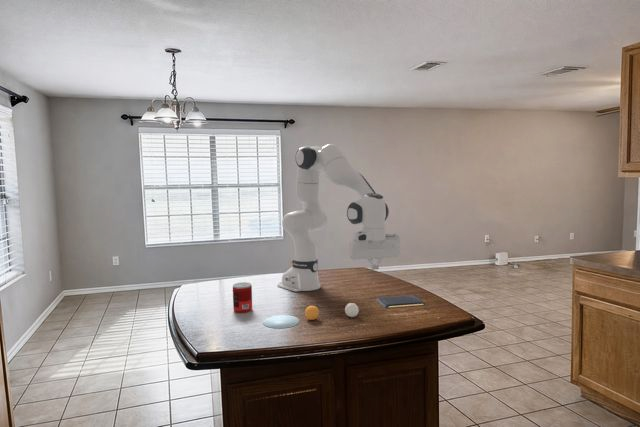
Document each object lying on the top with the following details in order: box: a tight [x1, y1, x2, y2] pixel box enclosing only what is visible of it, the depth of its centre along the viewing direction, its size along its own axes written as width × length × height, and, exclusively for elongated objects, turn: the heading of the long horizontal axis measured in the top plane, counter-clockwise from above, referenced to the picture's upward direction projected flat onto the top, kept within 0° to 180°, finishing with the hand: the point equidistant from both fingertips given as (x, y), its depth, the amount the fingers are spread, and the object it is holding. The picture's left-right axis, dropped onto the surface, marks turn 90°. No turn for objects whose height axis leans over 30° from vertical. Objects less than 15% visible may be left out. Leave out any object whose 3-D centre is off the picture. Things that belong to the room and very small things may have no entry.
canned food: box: [232, 281, 253, 314], centre depth 178 cm, size 8×8×11 cm
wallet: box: [375, 294, 429, 310], centre depth 186 cm, size 20×2×15 cm
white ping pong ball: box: [344, 302, 360, 318], centre depth 168 cm, size 6×6×6 cm
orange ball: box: [304, 305, 320, 321], centre depth 165 cm, size 6×6×6 cm
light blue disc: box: [262, 314, 300, 329], centre depth 163 cm, size 14×14×1 cm
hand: (374, 269), depth 168 cm, fingers closed
